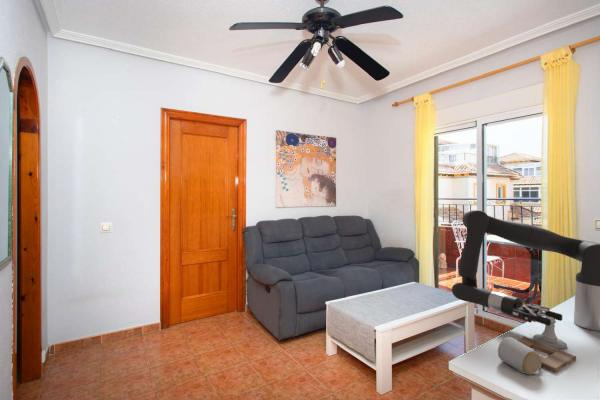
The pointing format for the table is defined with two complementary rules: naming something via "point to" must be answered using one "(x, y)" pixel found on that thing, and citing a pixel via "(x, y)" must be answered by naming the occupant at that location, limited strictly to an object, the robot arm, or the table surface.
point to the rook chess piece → (549, 332)
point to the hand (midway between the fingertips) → (556, 320)
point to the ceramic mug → (519, 356)
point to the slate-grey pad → (558, 345)
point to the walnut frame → (555, 358)
